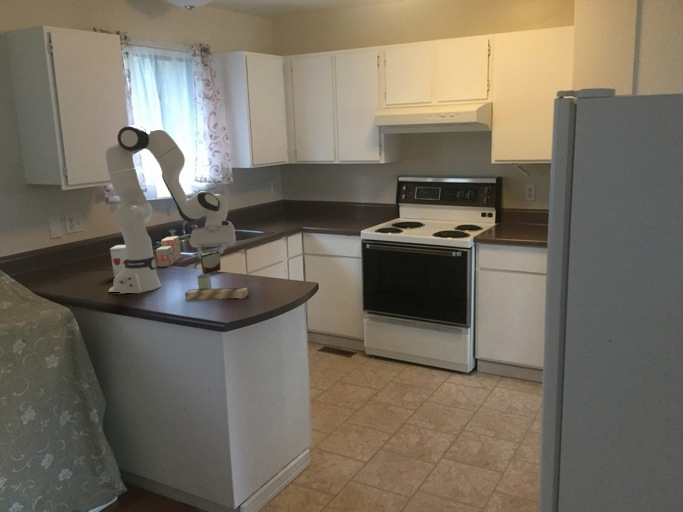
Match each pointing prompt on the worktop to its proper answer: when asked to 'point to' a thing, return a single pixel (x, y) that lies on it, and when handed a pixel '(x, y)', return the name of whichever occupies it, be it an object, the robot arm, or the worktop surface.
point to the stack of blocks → (168, 251)
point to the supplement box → (118, 258)
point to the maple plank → (216, 293)
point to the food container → (210, 261)
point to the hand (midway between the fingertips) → (210, 253)
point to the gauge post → (204, 281)
